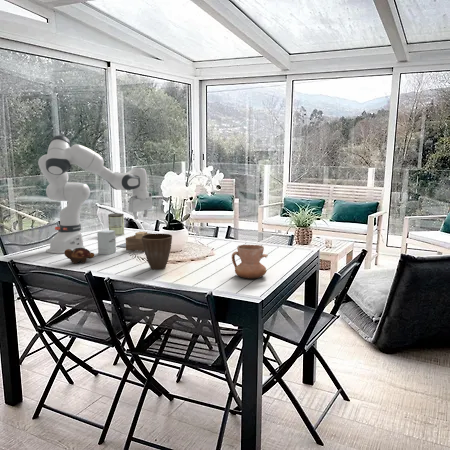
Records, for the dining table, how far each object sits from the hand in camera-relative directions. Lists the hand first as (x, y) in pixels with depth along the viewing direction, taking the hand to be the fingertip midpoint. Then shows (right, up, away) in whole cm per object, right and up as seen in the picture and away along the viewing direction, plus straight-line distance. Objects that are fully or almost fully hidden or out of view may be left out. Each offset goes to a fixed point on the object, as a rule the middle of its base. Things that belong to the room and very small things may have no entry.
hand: (140, 218), depth 267 cm
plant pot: (+16, -26, -43) cm, 53 cm away
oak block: (0, -14, +3) cm, 15 cm away
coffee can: (-25, -11, +43) cm, 51 cm away
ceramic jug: (+61, -28, -58) cm, 89 cm away
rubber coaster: (-10, -17, +7) cm, 21 cm away
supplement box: (-17, -20, -11) cm, 29 cm away
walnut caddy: (+2, -18, +2) cm, 18 cm away
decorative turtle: (-26, -24, -32) cm, 48 cm away
